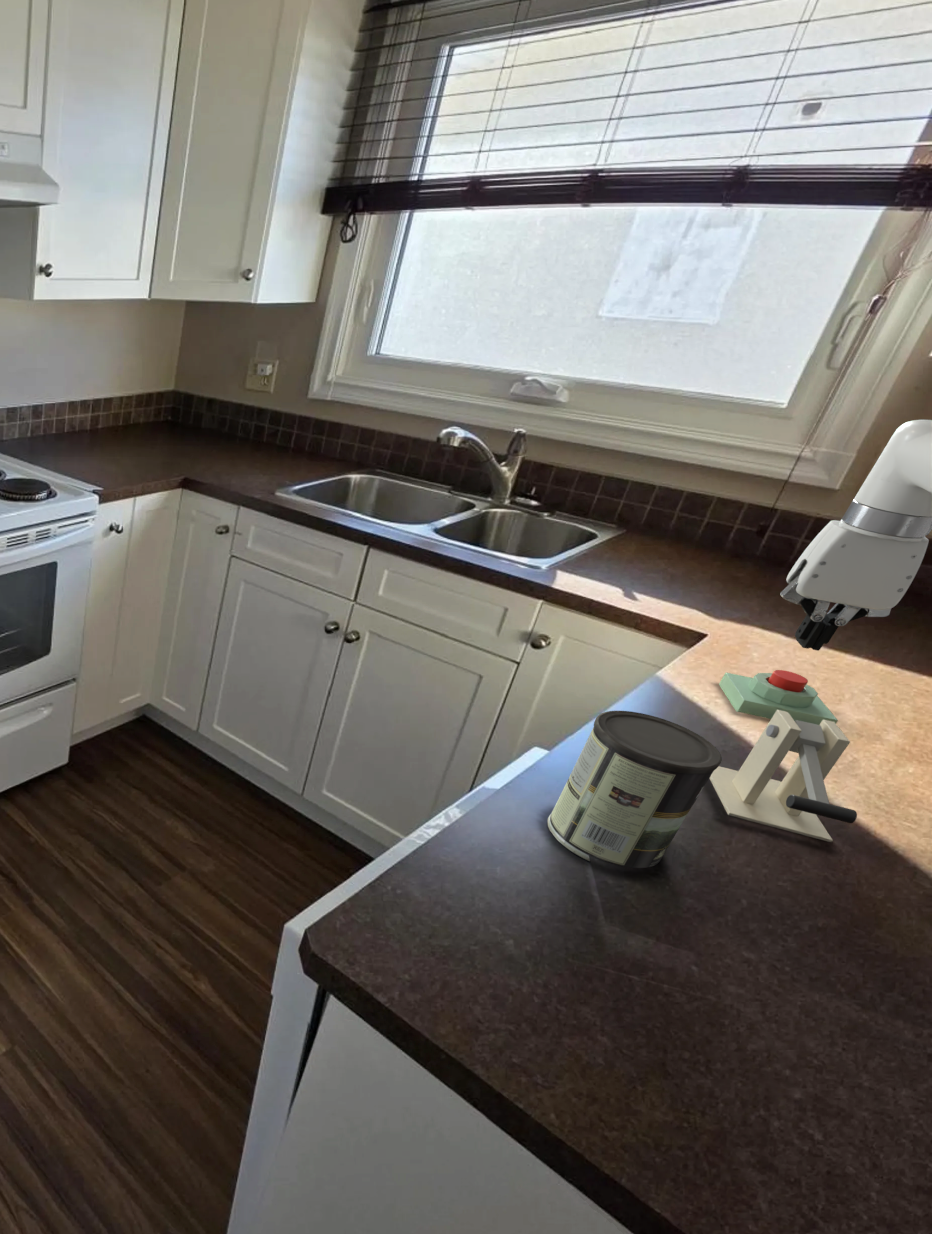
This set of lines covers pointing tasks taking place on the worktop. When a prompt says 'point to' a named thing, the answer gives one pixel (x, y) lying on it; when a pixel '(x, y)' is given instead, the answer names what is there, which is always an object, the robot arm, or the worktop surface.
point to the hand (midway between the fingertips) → (806, 644)
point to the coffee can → (631, 788)
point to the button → (788, 681)
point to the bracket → (765, 797)
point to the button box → (773, 699)
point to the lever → (815, 777)
